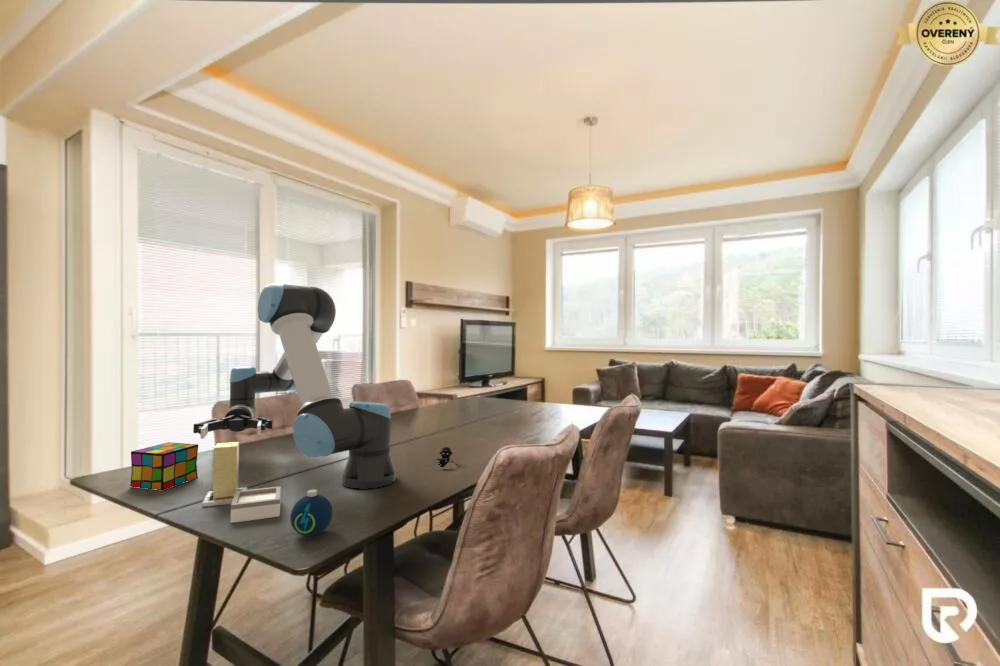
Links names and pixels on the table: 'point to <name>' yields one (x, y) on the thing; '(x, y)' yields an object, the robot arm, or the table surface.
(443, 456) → the toy figurine
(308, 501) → the christmas ornament
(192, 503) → the table surface
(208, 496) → the jamb socket
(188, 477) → the toy
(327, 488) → the table surface
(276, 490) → the white square tray
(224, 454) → the block
